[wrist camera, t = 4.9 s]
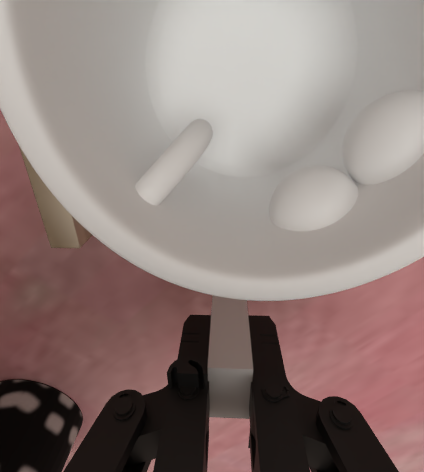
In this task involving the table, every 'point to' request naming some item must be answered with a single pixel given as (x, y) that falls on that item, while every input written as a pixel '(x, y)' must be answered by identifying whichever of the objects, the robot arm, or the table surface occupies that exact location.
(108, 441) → the robot arm
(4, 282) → the table surface
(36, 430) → the spotted tube
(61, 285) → the table surface
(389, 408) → the table surface
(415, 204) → the mug
